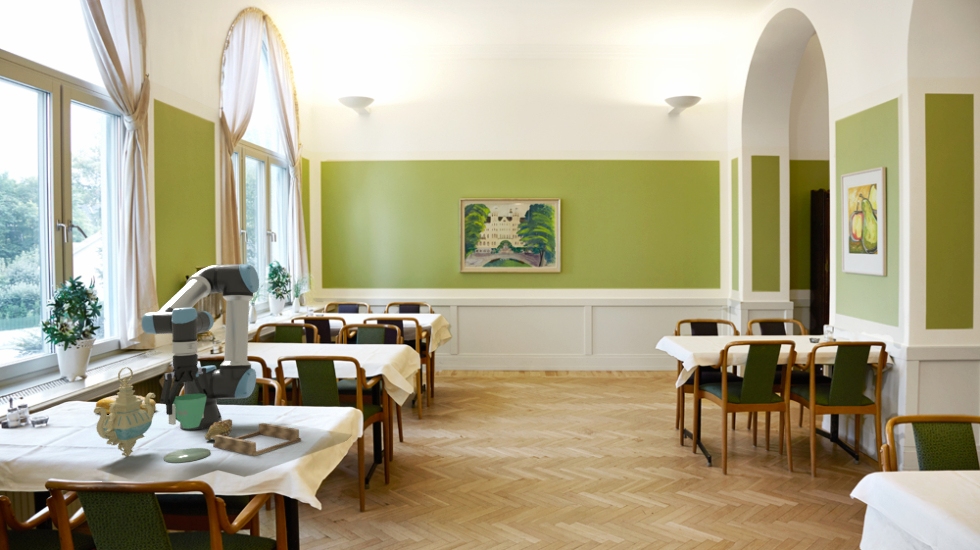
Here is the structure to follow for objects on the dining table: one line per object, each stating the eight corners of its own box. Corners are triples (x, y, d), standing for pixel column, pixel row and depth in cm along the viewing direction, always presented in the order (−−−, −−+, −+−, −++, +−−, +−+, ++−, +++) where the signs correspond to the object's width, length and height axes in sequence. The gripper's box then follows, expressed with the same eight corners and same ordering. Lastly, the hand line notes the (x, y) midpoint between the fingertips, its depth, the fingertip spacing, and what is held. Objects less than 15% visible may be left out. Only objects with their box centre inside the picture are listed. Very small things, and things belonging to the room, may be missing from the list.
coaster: (154, 458, 203) (154, 456, 203) (194, 447, 215) (194, 445, 215) (180, 465, 196) (179, 463, 196) (219, 453, 208) (219, 451, 208)
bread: (113, 410, 277) (113, 392, 276) (163, 412, 271) (163, 394, 271) (88, 417, 264) (87, 398, 263) (140, 419, 258) (139, 400, 258)
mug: (213, 424, 207) (213, 394, 206) (189, 431, 198) (188, 400, 197) (182, 420, 212) (182, 391, 212) (157, 427, 203) (156, 397, 203)
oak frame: (213, 446, 216) (213, 435, 216) (260, 433, 233) (260, 422, 233) (254, 455, 205) (254, 443, 204) (300, 440, 222) (300, 429, 222)
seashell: (208, 443, 228) (218, 417, 233) (229, 447, 229) (239, 421, 233) (200, 437, 220) (211, 411, 225) (223, 442, 220) (233, 415, 225)
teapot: (112, 468, 193) (109, 374, 193) (82, 466, 196) (79, 373, 195) (168, 446, 216) (166, 362, 216) (141, 445, 219) (139, 361, 219)
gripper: (159, 359, 194) (161, 429, 194) (221, 350, 212) (222, 415, 213) (146, 357, 198) (147, 426, 198) (208, 349, 216) (209, 412, 216)
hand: (186, 420), depth 205 cm, fingers closed on mug, 9 cm apart
